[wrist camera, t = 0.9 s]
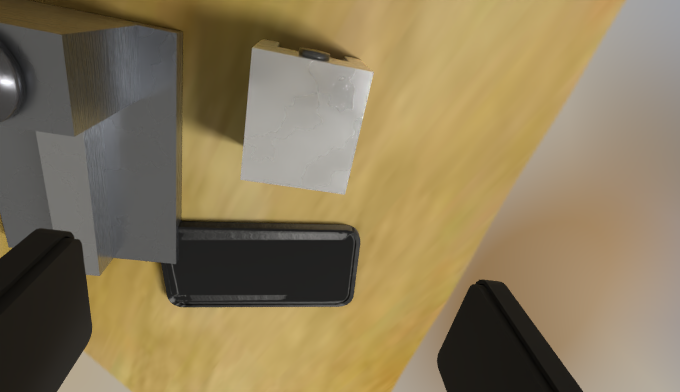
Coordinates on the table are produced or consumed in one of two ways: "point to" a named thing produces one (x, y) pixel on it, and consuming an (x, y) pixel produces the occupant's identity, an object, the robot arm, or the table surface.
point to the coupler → (91, 131)
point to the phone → (263, 265)
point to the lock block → (303, 117)
